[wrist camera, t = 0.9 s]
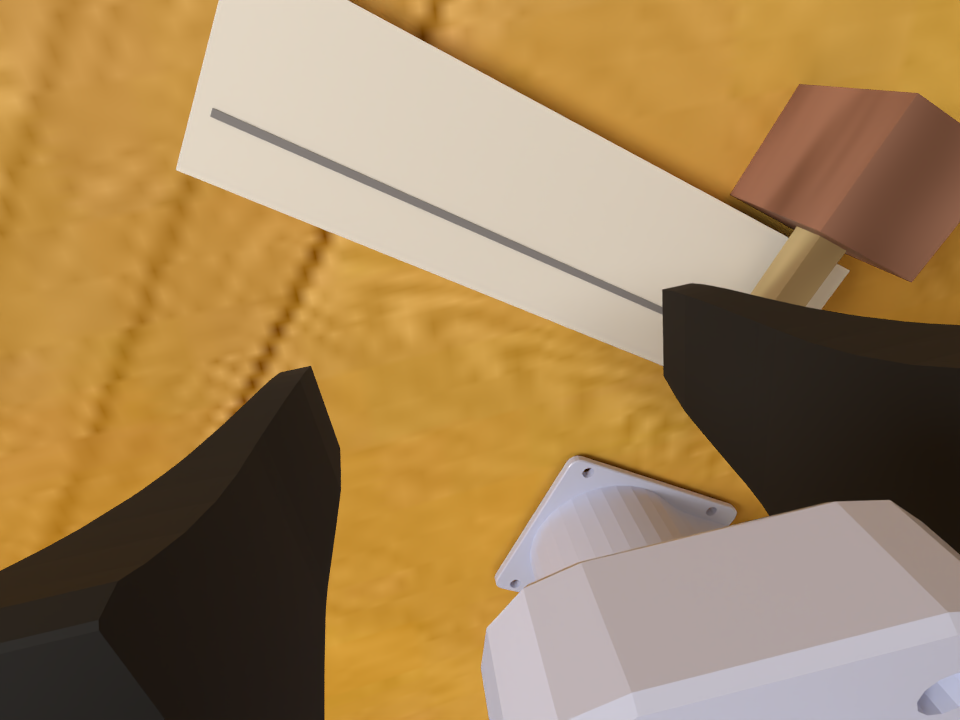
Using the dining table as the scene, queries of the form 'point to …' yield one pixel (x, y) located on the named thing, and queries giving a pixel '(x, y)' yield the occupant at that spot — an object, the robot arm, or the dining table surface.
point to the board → (456, 172)
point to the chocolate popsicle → (854, 185)
